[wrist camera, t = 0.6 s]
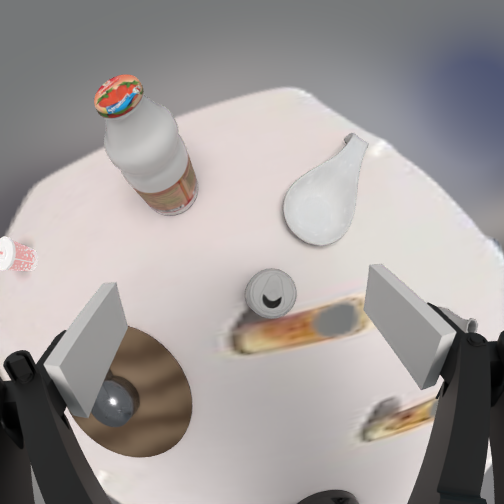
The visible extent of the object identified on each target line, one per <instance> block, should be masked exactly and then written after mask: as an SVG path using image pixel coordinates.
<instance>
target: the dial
mask: <svg viewBox="0 0 504 504" xmlns="http://www.w3.org/2000/svg"><path fill="white" fill-rule="evenodd" d="M139 404H140V399H139V395H138V392H137V390H136V389H135V387H134V386H133V385H132V384H131V383H130V382H129V381H128V380H126V379H125V378H123V377H120V376H113V374H112V372H111V370H110V368H109V370H108V372H107V374H106V377H105V379H104V381H103V384H102V386H101V388H100V391H99V393H98V395H97V398H96V400H95V403H94V405H93V408H92V410H91V413H92V415H93V416H94V417H95V418H96V419H97V420H98V421H99V422H101V423H102V424H104V425H106V426H109V427H120V426H123V425H124V424H126V423H127V422H128V420H129V419H130V418H131V417H132V416H133V415H134V414H135V413H136V412H137V410H138V408H139Z"/></svg>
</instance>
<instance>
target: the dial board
mask: <svg viewBox="0 0 504 504" xmlns="http://www.w3.org/2000/svg"><path fill="white" fill-rule="evenodd" d="M110 370H111V372H112V374H113V376H120V377H123V378H125V379H126V380H128V381H129V382H130V383H131V384H132V385H133V386H134V387H135V389H136V390H137V392H138V395H139V399H140V404H139V408H138V410H137V412H136V413H135V414H134V415H133V416H132V417H131V418H130V419H129V420H128V422H127V423H126V424H124V425H123V426H120V427H109V426H106V425H104V424H102V423H101V422H99V421H98V420H97V419H96V418H95V417H94V416H93V415H92V413H90V415H89V418H84V417H78V416H73V415H72V413H71V412H70V410H69V409H68V410H69V412H70V413H71V415H72V417H73V418H74V420H75V421H76V423H77V424H78V425H79V427H80V428H81V429H82V430H83V431H84V432H85V433H86V434H87V435H88V436H89V437H90V438H91V439H93V440H94V441H95V442H97V443H98V444H100V445H101V446H103V447H105V448H106V449H108V450H110V451H113V452H115V453H118V454H121V455H125V456H130V457H151V456H155V455H159V454H161V453H164V452H166V451H167V450H169V449H171V448H172V447H173V446H175V445H176V444H177V443H178V442H179V441H180V439H181V438H182V437H183V435H184V434H185V432H186V430H187V427H188V425H189V422H190V418H191V413H192V398H191V392H190V387H189V384H188V382H187V379H186V376H185V374H184V372H183V370H182V368H181V367H180V365H179V364H178V362H177V361H176V359H175V358H174V357H173V356H172V354H171V353H170V352H169V351H168V350H167V349H166V348H165V347H164V346H163V345H162V344H160V343H159V342H158V341H157V340H156V339H154V338H153V337H151V336H149V335H148V334H146V333H144V332H142V331H140V330H138V329H135V328H132V327H129V326H128V329H127V331H126V333H125V335H124V337H123V339H122V341H121V343H120V346H119V348H118V350H117V352H116V354H115V356H114V359H113V361H112V363H111V365H110ZM67 408H68V407H67Z"/></svg>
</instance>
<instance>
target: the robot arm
mask: <svg viewBox="0 0 504 504" xmlns="http://www.w3.org/2000/svg"><path fill="white" fill-rule="evenodd" d="M364 311H365V313H366V314H367V315H368V317H369V318H370V319H371V321H372V322H373V323H374V325H375V326H376V327H377V329H378V330H379V331H380V333H381V334H382V335H383V337H384V338H385V340H386V341H387V342H388V344H389V345H390V346H391V348H392V349H393V351H394V352H395V353H396V355H397V356H398V358H399V359H400V360H401V362H402V363H403V365H404V366H405V367H406V369H407V370H408V372H409V373H410V375H411V376H412V378H413V379H414V380H415V382H416V383H417V385H418V386H419V388H420V389H421V390H423V389H426V388H428V387H431V386H434V385H435V384H436V382H437V380H438V378H439V375H441V376H442V377H443V379H444V382H443V384H442V386H441V388H440V390H439V392H438V394H437V396H436V398H435V399H438V397H439V401H438V407H437V411H436V415H435V420H434V424H433V428H432V432H431V436H430V439H429V443H428V446H427V450H426V453H425V456H424V460H423V463H422V466H421V469H420V472H419V475H418V477H417V480H416V483H415V485H414V488H413V491H412V493H411V496H410V498H409V501H408V503H407V504H487V502H486V500H485V499H483V498H481V497H480V492H481V487H482V482H483V477H484V471H485V464H486V458H487V450H488V440H490V447H491V455H492V464H493V475H494V493H495V504H504V331H503V332H501V334H500V336H499V338H498V341H490V342H488V341H487V340H486V339H485V337H483V336H482V335H480V334H477V333H473V332H469V333H465V332H464V331H463V330H462V329H461V328H459V327H458V326H457V325H456V324H455V323H454V322H453V321H452V320H451V319H449V317H448V316H447V315H446V314H444V313H443V312H442V311H441V310H440V309H439V308H438V307H436V306H434V305H433V304H431V303H426V302H425V301H424V300H422V299H421V298H420V297H419V296H418V295H417V294H416V293H415V292H414V291H413V290H411V289H410V288H409V287H408V286H407V285H406V284H405V283H404V282H402V281H401V280H400V279H399V278H398V277H397V276H396V275H394V274H393V273H392V272H391V271H390V270H389V269H387V268H386V267H385V266H384V265H383V264H374V265H369V274H368V282H367V290H366V297H365V304H364ZM127 329H128V325H127V322H126V318H125V315H124V311H123V307H122V304H121V300H120V296H119V292H118V288H117V284H116V283H103V284H102V285H101V287H100V288H99V289H98V290H97V292H96V293H95V294H94V295H93V297H92V298H91V299H90V301H89V302H88V303H87V304H86V306H85V307H84V308H83V310H82V311H81V312H80V314H79V315H78V316H77V318H76V319H75V320H74V322H73V323H72V324H71V326H70V327H69V328H68V330H64V331H62V332H61V333H60V334H59V335H57V336H56V337H55V339H54V340H53V341H52V343H51V345H49V347H48V348H47V350H46V351H45V352H44V354H43V355H42V357H41V358H40V359H39V361H38V362H37V364H35V362H34V360H33V358H32V356H31V354H30V353H29V352H28V351H26V350H20V351H16V352H14V353H12V354H10V355H9V356H8V357H7V358H6V360H5V361H4V365H3V366H4V368H5V370H6V372H7V373H8V375H9V377H10V379H11V381H3V380H2V379H1V377H0V504H35V502H34V495H33V487H32V477H31V465H32V468H33V472H34V474H35V477H36V480H37V483H38V486H39V488H40V491H41V494H42V496H43V499H44V501H45V503H46V504H112V503H111V501H110V500H109V498H108V496H107V495H106V493H105V492H104V490H103V488H102V487H101V485H100V483H99V482H98V480H97V478H96V476H95V475H94V473H93V471H92V469H91V467H90V465H89V463H88V462H87V460H86V458H85V456H84V454H83V452H82V450H81V448H80V446H79V443H78V441H77V439H76V437H75V435H74V433H73V430H72V428H71V426H70V423H69V421H68V419H67V417H66V415H65V414H64V411H65V409H66V407H68V409H69V410H70V412H71V413H72V415H73V416H78V417H84V418H89V415H90V413H91V410H92V408H93V405H94V403H95V400H96V398H97V395H98V393H99V391H100V388H101V386H102V384H103V381H104V379H105V377H106V374H107V372H108V370H109V368H110V365H111V363H112V361H113V359H114V356H115V354H116V352H117V350H118V348H119V346H120V343H121V341H122V339H123V337H124V335H125V333H126V331H127ZM30 462H31V463H30ZM298 504H359V503H358V501H357V500H356V498H355V497H354V496H353V495H352V494H351V493H349V492H346V491H341V490H331V491H325V492H320V493H317V494H314V495H312V496H310V497H307V498H306V499H304V500H302V501H301V502H299V503H298Z"/></svg>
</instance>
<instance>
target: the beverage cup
mask: <svg viewBox="0 0 504 504" xmlns="http://www.w3.org/2000/svg"><path fill="white" fill-rule="evenodd" d="M37 263H38V255H37V252H36V251H35V250H34V249H32V248H29V247H27V246H24V245H22V244H20V243H17V242H15V241H13V240H12V239H11V238H9V237H2V238H0V270H2V271H6V270H18V271H33V270H34V269H35V268H36V266H37Z"/></svg>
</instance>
